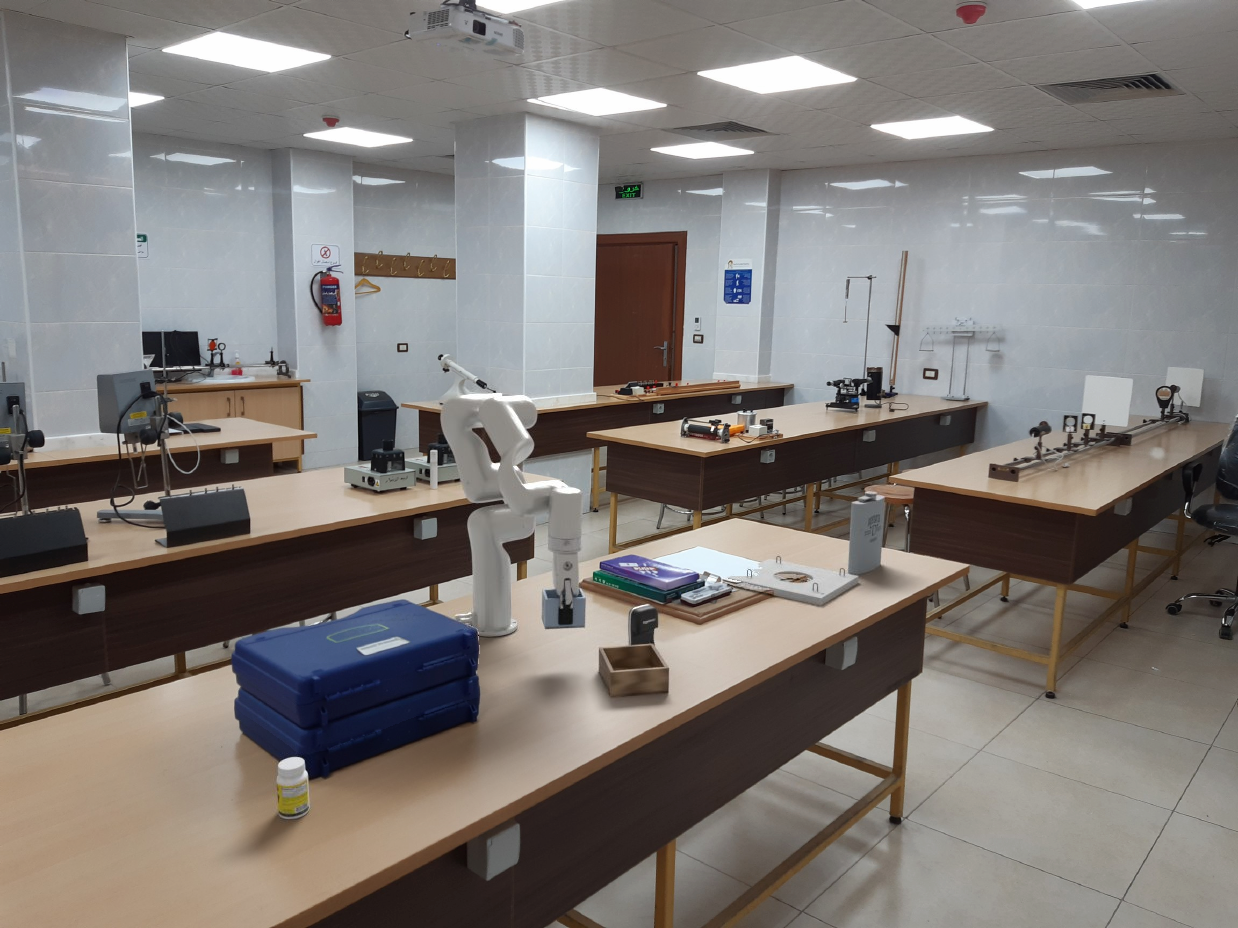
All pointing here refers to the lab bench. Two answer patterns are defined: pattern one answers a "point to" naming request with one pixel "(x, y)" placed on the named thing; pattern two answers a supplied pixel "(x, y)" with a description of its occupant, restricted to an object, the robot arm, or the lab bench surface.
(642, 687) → the open wooden box
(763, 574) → the mounting panel
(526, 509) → the robot arm
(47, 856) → the lab bench surface
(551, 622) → the box
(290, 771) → the supplement bottle
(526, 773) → the lab bench surface
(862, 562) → the flask
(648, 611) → the black upright device
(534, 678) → the lab bench surface
